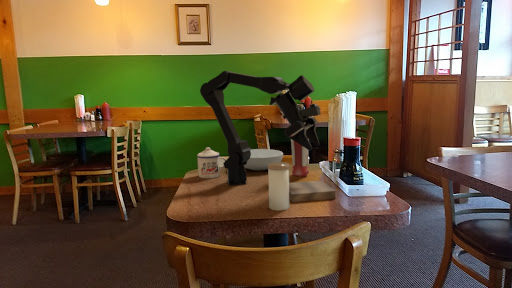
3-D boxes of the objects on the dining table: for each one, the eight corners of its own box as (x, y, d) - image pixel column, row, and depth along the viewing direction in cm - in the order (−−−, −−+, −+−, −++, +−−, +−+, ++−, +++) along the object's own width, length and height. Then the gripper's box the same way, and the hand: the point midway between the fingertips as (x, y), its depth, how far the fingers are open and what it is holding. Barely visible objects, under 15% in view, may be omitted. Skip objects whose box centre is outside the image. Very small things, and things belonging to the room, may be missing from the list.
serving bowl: (277, 174, 149) (277, 158, 148) (228, 172, 155) (228, 156, 154) (287, 163, 169) (287, 149, 168) (244, 162, 175) (243, 148, 174)
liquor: (293, 172, 151) (292, 104, 147) (311, 173, 149) (311, 104, 144) (288, 177, 144) (287, 105, 140) (307, 178, 142) (306, 105, 137)
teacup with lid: (199, 179, 145) (198, 150, 143) (196, 174, 153) (195, 146, 151) (229, 176, 148) (228, 148, 146) (225, 171, 157) (223, 144, 155)
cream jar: (271, 211, 106) (269, 167, 104) (266, 204, 112) (265, 162, 110) (292, 209, 107) (292, 165, 105) (286, 202, 113) (286, 161, 111)
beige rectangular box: (292, 202, 114) (292, 194, 113) (282, 190, 126) (282, 183, 126) (335, 198, 116) (335, 190, 116) (321, 187, 129) (321, 180, 128)
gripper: (300, 96, 113) (328, 139, 112) (316, 94, 130) (340, 131, 128) (272, 116, 118) (299, 157, 116) (291, 111, 135) (315, 147, 133)
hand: (315, 147), depth 124 cm, fingers open, 9 cm apart
